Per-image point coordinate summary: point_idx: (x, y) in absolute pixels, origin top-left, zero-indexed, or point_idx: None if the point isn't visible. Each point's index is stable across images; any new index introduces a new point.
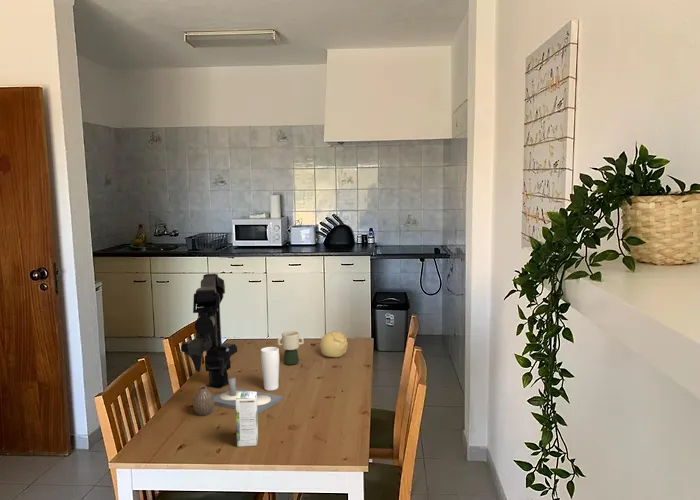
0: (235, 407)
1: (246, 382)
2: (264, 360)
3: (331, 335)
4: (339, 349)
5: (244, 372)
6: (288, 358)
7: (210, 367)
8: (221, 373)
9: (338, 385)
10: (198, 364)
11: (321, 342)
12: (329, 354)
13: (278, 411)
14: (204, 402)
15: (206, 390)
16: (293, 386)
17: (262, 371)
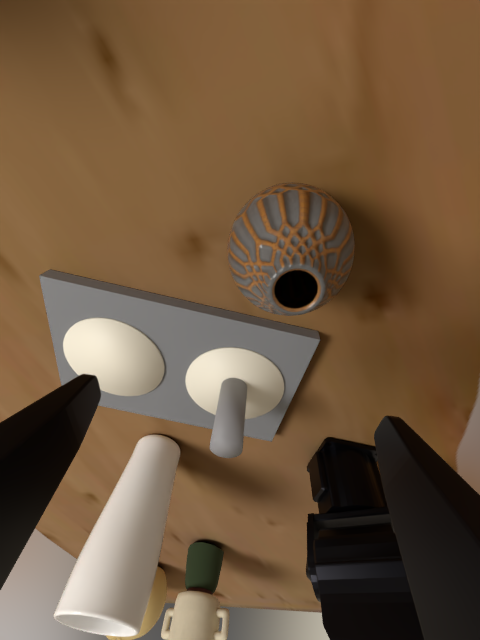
0: (167, 300)
1: (259, 472)
2: (115, 557)
3: None
4: None
5: (298, 515)
6: (202, 561)
7: (382, 523)
8: (68, 382)
9: None
10: (421, 514)
11: (150, 607)
12: None
13: (3, 305)
14: (255, 203)
15: (262, 277)
16: (112, 459)
17: (158, 503)
